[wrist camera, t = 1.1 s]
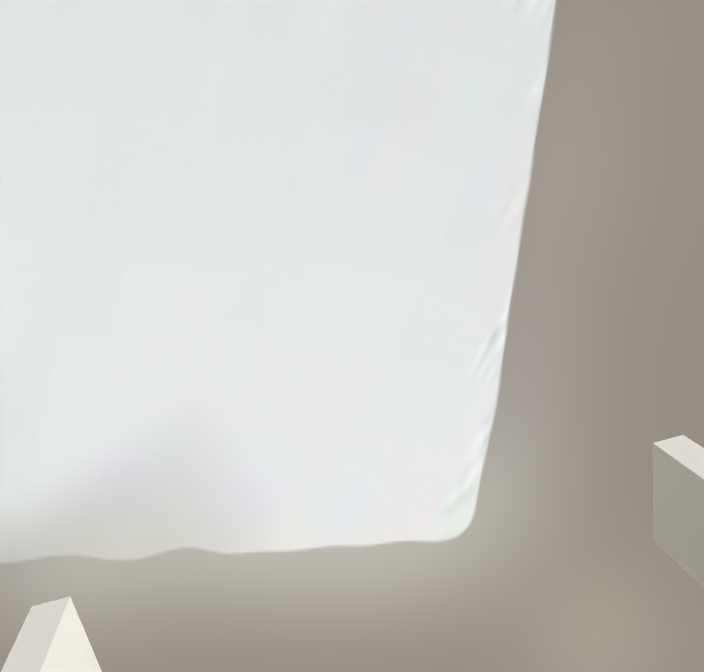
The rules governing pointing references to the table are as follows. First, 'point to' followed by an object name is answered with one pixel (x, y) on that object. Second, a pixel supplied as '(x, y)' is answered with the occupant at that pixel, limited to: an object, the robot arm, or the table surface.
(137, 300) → the table surface
